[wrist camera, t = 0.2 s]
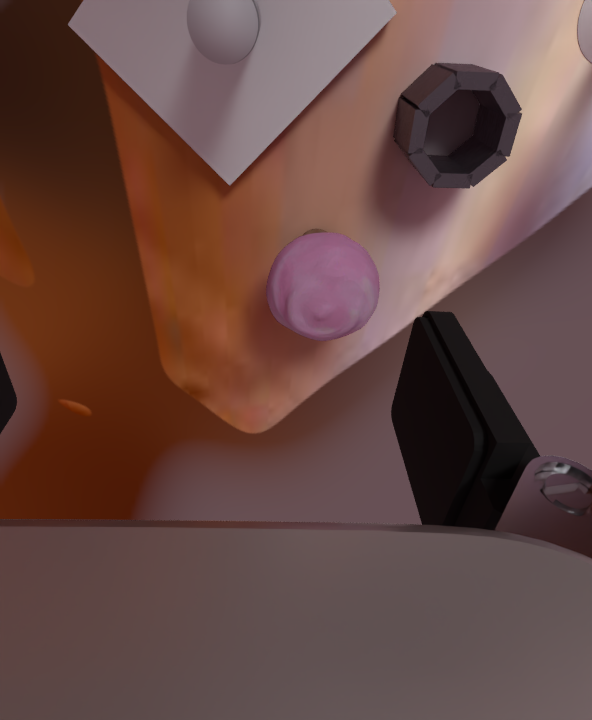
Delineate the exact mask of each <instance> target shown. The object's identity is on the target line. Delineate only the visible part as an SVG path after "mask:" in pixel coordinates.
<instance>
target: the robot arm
mask: <svg viewBox="0 0 592 720" xmlns="http://www.w3.org/2000/svg"><path fill="white" fill-rule="evenodd" d="M16 405H17V397H16V394H15V391H14V388H13V386H12V383H11V380H10V378H9V375H8V372H7V370H6V367H5V364H4V361H3V359H2V356H1V353H0V433H1V432H2V430H3V429H4V427H5V426H6V424H7V422H8V421H9V419H10V418H11V416H12V415H13V413H14V411H15V409H16ZM391 416H392V422H393V426H394V429H395V433H396V436H397V439H398V443H399V446H400V450H401V453H402V457H403V460H404V463H405V467H406V471H407V474H408V477H409V481H410V484H411V488H412V491H413V495H414V498H415V502H416V505H417V508H418V512H419V515H420V518H421V522H422V525H414V524H378V523H341V522H337V523H335V522H266V521H180V520H175V521H174V520H173V521H172V520H171V521H170V520H52V519H48V520H47V519H42V520H41V519H0V720H592V470H590V469H588V468H587V467H585V466H583V465H582V464H580V463H578V462H575V461H572V460H569V459H567V458H563V457H558V456H540V455H539V453H538V452H537V450H536V448H535V447H534V445H533V443H532V442H531V440H530V438H529V437H528V435H527V433H526V432H525V430H524V428H523V427H522V425H521V423H520V422H519V420H518V418H517V416H516V415H515V413H514V412H513V410H512V408H511V406H510V405H509V403H508V402H507V400H506V398H505V396H504V395H503V393H502V392H501V390H500V388H499V387H498V385H497V383H496V381H495V380H494V378H493V376H492V375H491V374H490V373H489V372H488V371H487V369H486V368H485V366H484V364H483V363H482V361H481V359H480V358H479V356H478V355H477V353H476V351H475V350H474V348H473V346H472V344H471V342H470V341H469V339H468V337H467V336H466V334H465V332H464V331H463V329H462V327H461V326H460V324H459V322H458V321H457V319H456V318H455V316H454V314H453V313H452V312H435V311H426V312H425V313H424V314H423V316H422V317H417V318H416V319H415V320H414V323H413V327H412V331H411V335H410V338H409V342H408V346H407V350H406V354H405V358H404V362H403V365H402V369H401V373H400V377H399V381H398V385H397V388H396V392H395V396H394V400H393V404H392V410H391Z"/></svg>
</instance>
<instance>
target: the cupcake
mask: <svg viewBox="0 0 592 720" xmlns="http://www.w3.org/2000/svg"><path fill="white" fill-rule="evenodd" d="M266 295H267V300H268V304H269V307H270V310H271V312H272V314H273V316H274V317H275V319H276V320H277V321H278V322H279V323H280V324H282V325H283V326H285V327H287V328H289V329H291V330H293V331H294V332H296V333H298V334H299V335H302V336H304V337H307V338H310V339H314V340H319V341H327V340H332V339H336V338H340V337H343V336H346V335H349V334H351V333H353V332H355V331H357V330H359V329H361V328H362V327H363V326H364V325H365V324H366V323H367V322H368V320H369V319H370V317H371V316H372V314H373V312H374V311H375V309H376V306H377V303H378V297H379V275H378V271H377V268H376V266H375V264H374V262H373V260H372V258H371V257H370V255H369V254H368V252H367V251H366V250H365V249H364V248H363V247H362V246H361V245H360V244H358V243H357V242H355V241H353V240H351V239H350V238H348V237H347V236H345V235H342V234H338V233H328V232H326V231H324V230H321V229H312V230H309V231H307V232H305V233H304V235H303V236H300V237H298V238H296V239H295V240H293V241H292V242H290V243H289V244H288V245H287V246H285V247H284V249H283V250H282V251H281V252H280V253H279V254H278V256H277V257H276V259H275V261H274V263H273V265H272V267H271V270H270V273H269V276H268V281H267V286H266Z"/></svg>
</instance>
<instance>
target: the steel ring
mask: <svg viewBox="0 0 592 720" xmlns="http://www.w3.org/2000/svg"><path fill="white" fill-rule="evenodd" d="M458 89H461V90H471V91H472V92H473V94H474V96H475V97H476V99H477V100H478V102H479V104H480V107H479V111H478V115H477V119H476V123H475V127H474V131H473V135H472V136H471V137H470V138H469V139H468V140H467V141H465V142H464V143H463V144H462V145H461V146H460V147H458V148H457V149H456V150H455V151H454V152H452V153H451V154H450V155H449V156H440V155H427V154H426V153H425V152H424V150H423V147H424V142H425V136H426V131H427V126H428V121H429V115H430V114H431V113H432V112H433V111H434V110H436V109H437V108H438V107H439V106H440V105H441V104H442V103H443V102H444V101H445V100H447V99H448V98H449V97H450V96H451V95H452V94H453V93H454V92H455V91H457V90H458ZM401 94H402V96H403V97H404V98H402V97H399V102H398V109H397V115H396V122H395V129H394V135H393V137H394V138H395V140H394V141H395V142H396V144H397V145H398V146H399V148H400V149H401V150H402V152H403V153H404V154H405V156H406V157H407V158H408V160H409V161H410V163H411V164H412V165H413V167H414V168H415V169H416V170H417V171H418V172H419V174H420V175H421V176H422V177H423V178H424V179H425V181H426V182H427V183H428V184H429V185H431V186H432V187H438V188H470V185H471V186H473V187H474V186H475V185H476V184H478V183H479V182H480V181H481V180H483V179H484V178H485V177H486V176H488V175H489V174H490V173H491V172H493V171H494V170H495V169H496V168H498V167H499V166H500V165H501V164H503V163H504V162H505V161H507V159H506V158H505V156H510V153H511V150H512V146H513V143H514V139H515V136H516V133H517V129H518V126H519V123H520V119H521V116H522V113H520V112H519V111H521V110H522V109H521V107H520V105H519V103H518V102H517V100H516V98H515V96H514V94H513V93H512V91H511V89H510V87H509V85H508V84H507V82H506V80H505V78H504V77H503V75H502V74H499V73H498V72H495V71H492V70H489V69H486V68H482V67H479V66H476V65H473V64H450V63H436V64H435V65H431V66H430V67H429V68H428V69H427V70H426V71H425V72H423V73H422V74H421V75H420V76H419V77H418V78H417V79H416V80H415V81H414V82H413V83H412V84H411V85H410V86H409V87H408V88H407V89H406V90H405V91H403V92H402V93H401Z"/></svg>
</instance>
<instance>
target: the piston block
mask: <svg viewBox="0 0 592 720" xmlns="http://www.w3.org/2000/svg"><path fill="white" fill-rule="evenodd" d="M396 13H397V12H396V11H395V9H394V8H393V6H392V4H391V3H390V1H389V0H83V2H82V3H81V5H80V6H79V8H78V10H77V11H76V13H75V14H74V16H73V17H72V19H71V20H70V22H69V23H68V25H69V27H71V29H72V30H73V31H75V32H76V33H77V34H78V35H79V36H80V37H81V38H82V39H83V40H84V41H85V42H86V43H87V44H88V45H89V46H90V47H91V48H92V49H93V50H94V51H95V52H96V53H97V54H98V55H99V56H100V57H101V58H102V59H103V60H104V61H105V62H106V63H107V64H108V65H109V66H110V67H111V68H112V69H113V70H114V71H115V72H116V73H117V74H118V75H119V76H120V77H121V78H122V79H123V80H124V81H125V82H126V83H127V84H128V85H129V86H130V87H131V88H132V89H133V90H134V91H135V92H136V93H137V94H138V95H139V96H140V97H141V98H142V99H143V100H144V101H145V102H146V103H147V104H148V105H149V106H150V107H151V108H152V109H153V110H154V111H155V112H156V113H157V114H158V115H159V116H160V117H161V118H162V119H163V120H164V121H165V122H166V123H167V124H168V125H169V126H170V127H171V128H172V129H173V130H174V131H175V132H176V133H177V134H178V135H179V136H180V137H181V138H182V139H183V140H184V141H185V142H186V143H187V144H188V145H189V146H190V147H191V148H192V149H193V150H194V151H195V152H196V153H197V154H198V155H199V156H200V157H201V158H202V159H203V160H204V161H205V162H206V163H207V164H208V165H209V166H210V167H211V168H212V169H213V170H214V171H215V172H216V173H217V174H218V175H219V176H220V177H221V178H222V179H223V180H224V181H225V182H226V183H227V184H228V185H229V186H230V185H231V184H232V183H233V182H234V181H235V180H236V179H237V178H238V177H239V176H240V175H241V174H242V173H243V172H244V170H245V169H246V168H247V167H248V166H249V165H250V164H251V163H252V162H253V161H254V160H255V159H256V158H257V157H258V156H259V155H260V154H261V153H262V152H263V151H264V150H265V149H266V148H267V147H268V146H269V145H270V144H271V143H272V142H273V140H274V139H275V138H276V137H277V136H278V135H279V134H280V133H281V132H282V131H283V130H284V129H285V128H286V127H287V126H288V125H289V124H290V123H291V122H292V121H293V120H294V119H295V118H296V117H297V116H298V115H299V114H300V113H301V111H302V110H303V109H304V108H305V107H306V106H307V105H308V104H309V103H310V102H311V101H312V100H313V99H314V98H315V97H316V96H317V95H318V94H319V93H320V92H321V91H322V90H323V89H324V88H325V87H326V86H327V85H328V84H329V83H330V81H331V80H332V79H333V78H334V77H335V76H336V75H337V74H338V73H339V72H340V71H341V70H342V69H343V68H344V67H345V66H346V65H347V64H348V63H349V62H350V61H351V60H352V59H353V58H354V57H355V56H356V55H357V54H358V53H359V51H360V50H361V49H362V48H363V47H364V46H365V45H366V44H367V43H368V42H369V41H370V40H371V39H372V38H373V37H374V36H375V35H376V34H377V33H378V32H379V31H380V30H381V29H382V28H383V27H384V26H385V25H386V24H387V23H388V21H389V20H390V19H391V18H392V17H393V16H394V15H395V14H396Z"/></svg>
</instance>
